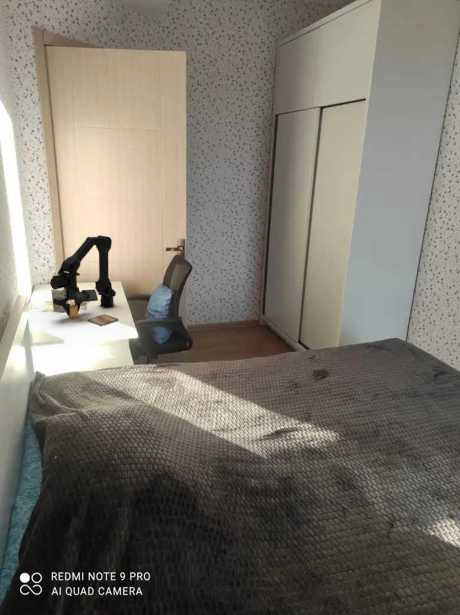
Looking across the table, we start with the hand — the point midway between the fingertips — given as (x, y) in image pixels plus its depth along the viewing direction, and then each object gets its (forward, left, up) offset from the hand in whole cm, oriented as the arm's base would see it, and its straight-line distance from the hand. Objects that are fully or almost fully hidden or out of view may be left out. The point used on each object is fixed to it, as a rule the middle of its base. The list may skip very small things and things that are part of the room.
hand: (73, 314), depth 237 cm
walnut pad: (-7, +15, -2) cm, 17 cm away
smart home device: (-29, -24, -2) cm, 38 cm away
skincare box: (-2, -14, -2) cm, 14 cm away
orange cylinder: (0, 0, -2) cm, 2 cm away
